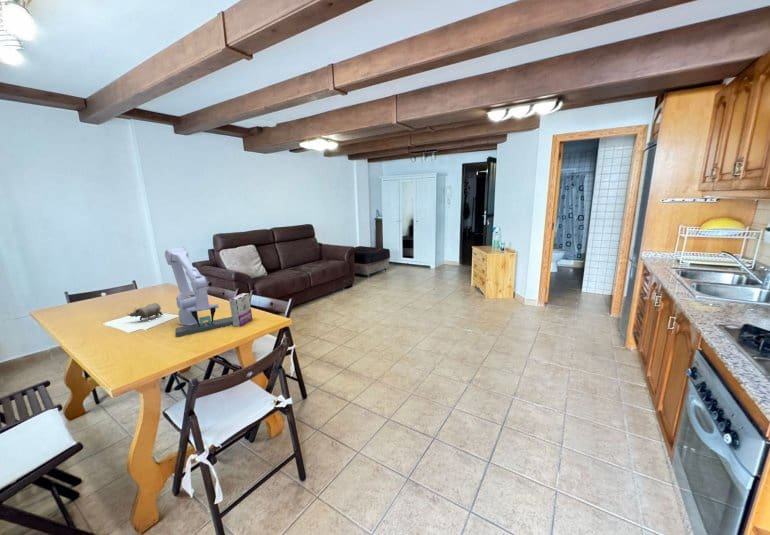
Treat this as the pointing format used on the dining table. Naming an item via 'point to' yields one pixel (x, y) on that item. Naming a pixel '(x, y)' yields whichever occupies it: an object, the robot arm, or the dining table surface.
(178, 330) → the rail
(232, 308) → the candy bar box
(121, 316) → the dining table surface
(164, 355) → the dining table surface
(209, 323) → the clip
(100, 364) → the dining table surface
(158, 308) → the animal figurine
